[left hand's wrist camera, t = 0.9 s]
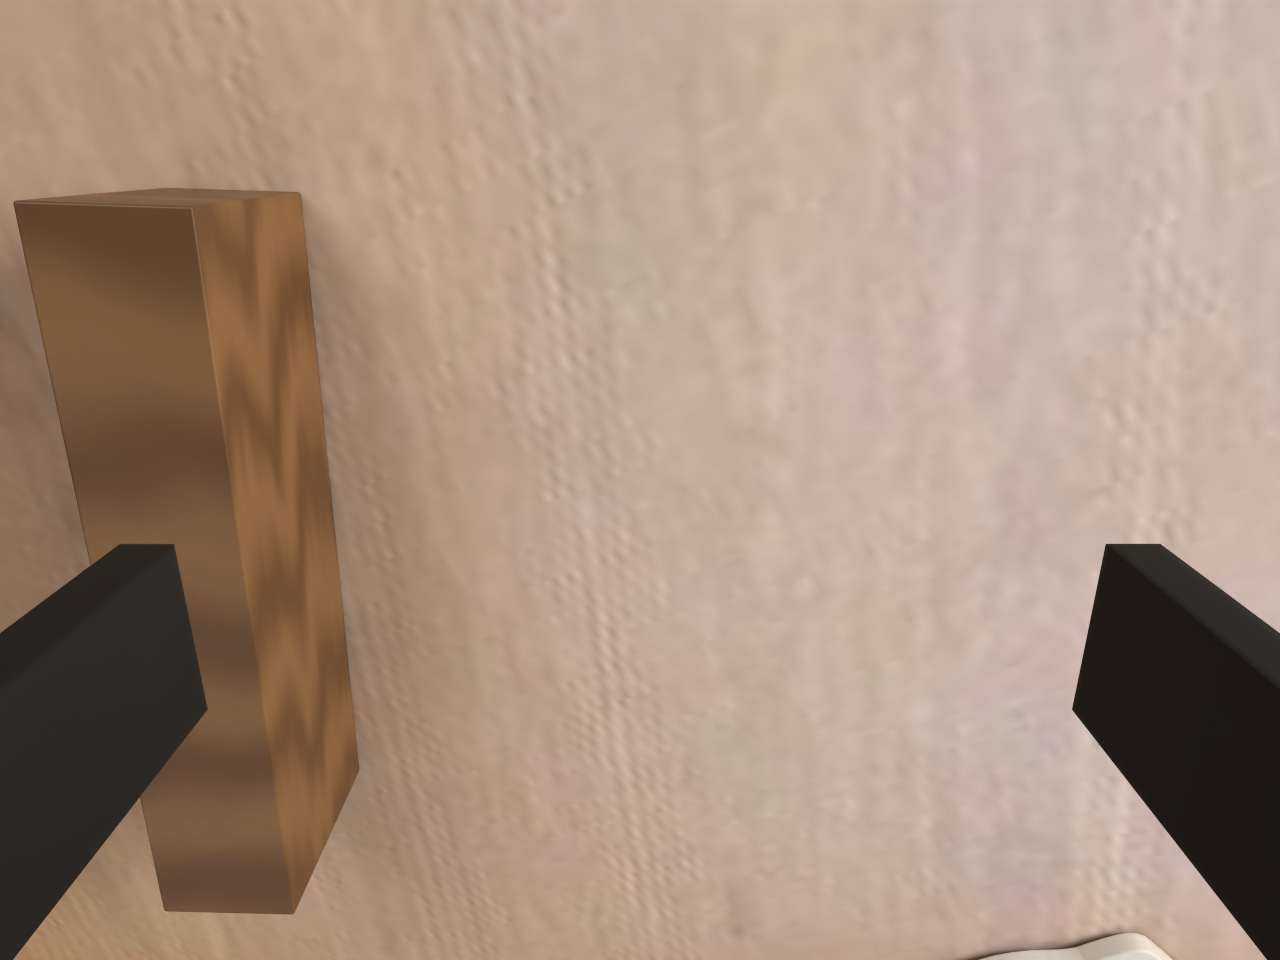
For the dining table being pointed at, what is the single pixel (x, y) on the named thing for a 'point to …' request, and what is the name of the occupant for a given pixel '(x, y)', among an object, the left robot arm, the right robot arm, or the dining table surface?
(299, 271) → the bar
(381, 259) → the dining table surface
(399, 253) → the dining table surface
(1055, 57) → the dining table surface
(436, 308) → the dining table surface
